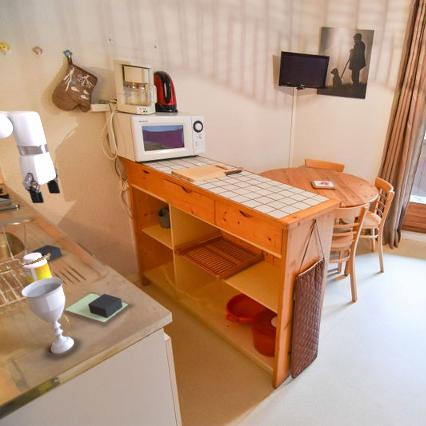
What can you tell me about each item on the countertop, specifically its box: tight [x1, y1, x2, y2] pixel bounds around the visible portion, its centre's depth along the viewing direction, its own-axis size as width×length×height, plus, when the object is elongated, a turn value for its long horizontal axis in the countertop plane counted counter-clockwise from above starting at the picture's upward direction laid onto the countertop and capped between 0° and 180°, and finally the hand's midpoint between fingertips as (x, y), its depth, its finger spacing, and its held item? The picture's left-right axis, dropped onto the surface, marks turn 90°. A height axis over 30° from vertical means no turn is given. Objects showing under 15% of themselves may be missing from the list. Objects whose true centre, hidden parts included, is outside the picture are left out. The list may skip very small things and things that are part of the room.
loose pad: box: [31, 244, 62, 263], centre depth 112 cm, size 6×5×3 cm
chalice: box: [21, 276, 75, 354], centre depth 74 cm, size 7×7×18 cm
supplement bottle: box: [22, 252, 53, 285], centre depth 97 cm, size 6×6×10 cm
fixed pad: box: [88, 293, 123, 318], centre depth 89 cm, size 6×5×3 cm
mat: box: [64, 292, 129, 323], centre depth 90 cm, size 14×8×1 cm, turn 73°
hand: (47, 197), depth 112 cm, fingers open, 9 cm apart
